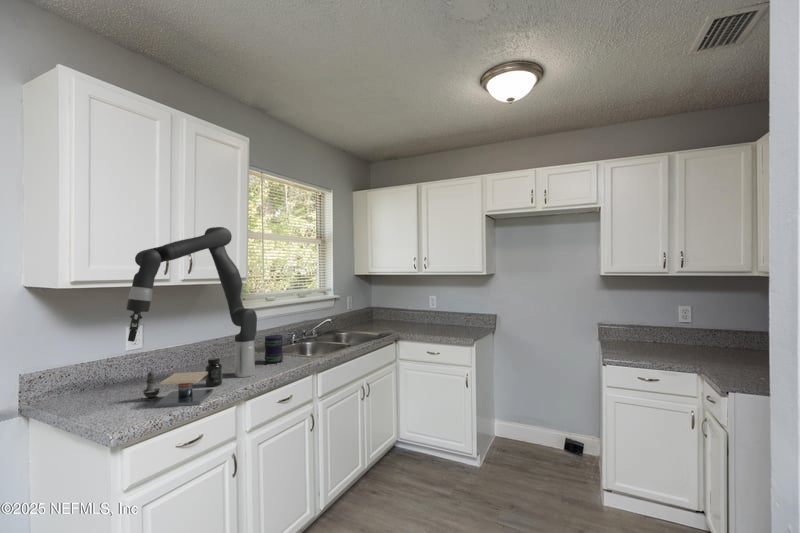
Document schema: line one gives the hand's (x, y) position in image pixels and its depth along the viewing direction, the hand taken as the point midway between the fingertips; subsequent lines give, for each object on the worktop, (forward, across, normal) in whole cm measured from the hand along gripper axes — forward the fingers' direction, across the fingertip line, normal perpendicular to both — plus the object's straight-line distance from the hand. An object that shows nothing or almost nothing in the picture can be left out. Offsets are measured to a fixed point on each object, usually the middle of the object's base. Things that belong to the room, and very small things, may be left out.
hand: (131, 340), depth 149 cm
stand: (+22, -3, -22) cm, 31 cm away
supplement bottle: (+19, +12, -34) cm, 41 cm away
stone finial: (+24, +5, -11) cm, 26 cm away
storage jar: (+11, +39, -68) cm, 79 cm away
